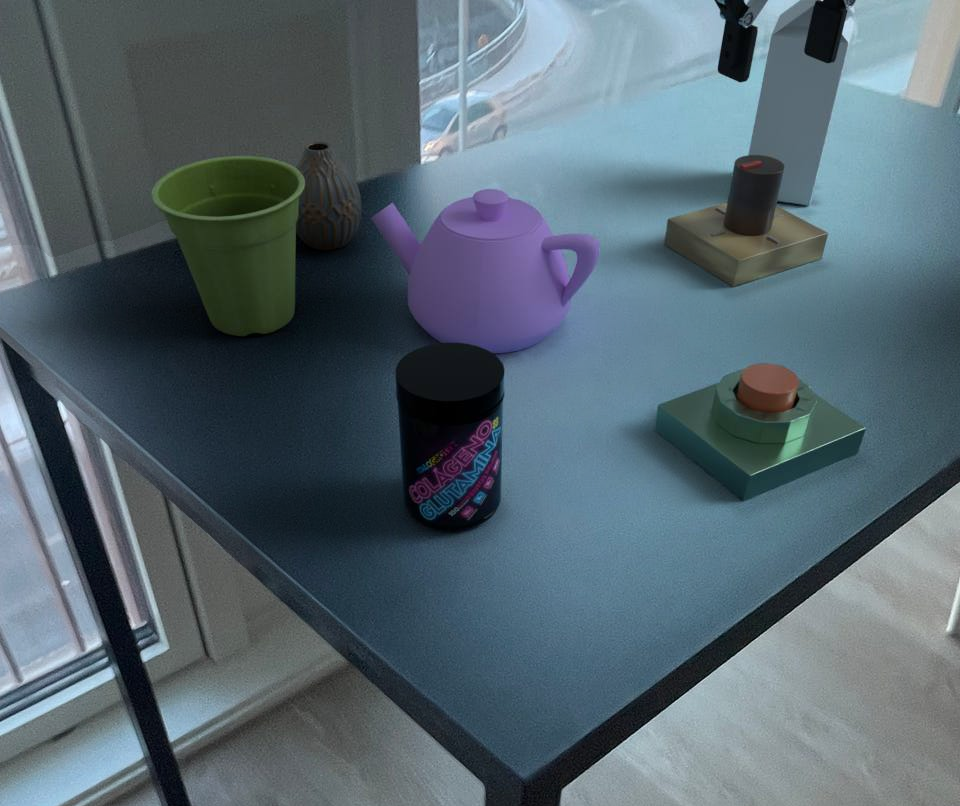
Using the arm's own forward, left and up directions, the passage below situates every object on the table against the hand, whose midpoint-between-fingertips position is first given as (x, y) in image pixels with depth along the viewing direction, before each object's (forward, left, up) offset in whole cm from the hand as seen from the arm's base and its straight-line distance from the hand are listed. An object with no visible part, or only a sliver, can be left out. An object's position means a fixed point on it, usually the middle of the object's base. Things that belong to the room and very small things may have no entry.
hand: (776, 67), depth 84 cm
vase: (+33, -22, -16) cm, 43 cm away
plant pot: (+45, -12, -16) cm, 49 cm away
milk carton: (-13, -9, -16) cm, 23 cm away
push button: (+20, +24, -12) cm, 34 cm away
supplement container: (+43, +19, -16) cm, 50 cm away
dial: (0, 0, -13) cm, 13 cm away
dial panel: (0, 0, -16) cm, 16 cm away
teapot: (+28, -2, -16) cm, 32 cm away
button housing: (+20, +24, -16) cm, 35 cm away
